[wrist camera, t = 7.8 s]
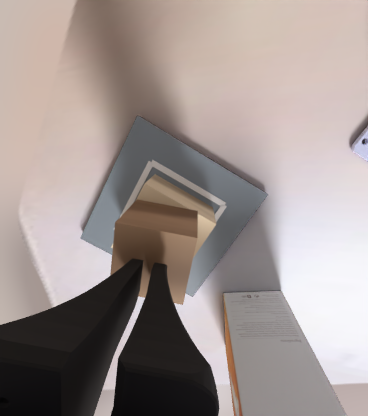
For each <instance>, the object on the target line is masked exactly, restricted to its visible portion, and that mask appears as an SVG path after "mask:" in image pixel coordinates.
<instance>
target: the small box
mask: <svg viewBox="0 0 368 416" xmlns="http://www.w3.org/2000/svg"><path fill="white" fill-rule="evenodd" d="M223 300H224V314H225V342H226V355H227V363H228V371H229V379H230V386H231V393H232V403H233V411H234V416H347V414H346V413H345V411H344V409H343V407H342V405H341V403H340V401H339V399H338V397H337V395H336V394H335V392H334V390H333V388H332V386H331V384H330V382H329V380H328V378H327V376H326V375H325V373H324V371H323V369H322V367H321V365H320V363H319V361H318V359H317V358H316V356H315V354H314V352H313V350H312V348H311V346H310V345H309V343H308V341H307V339H306V337H305V335H304V333H303V331H302V329H301V328H300V326H299V324H298V322H297V320H296V318H295V316H294V314H293V312H292V310H291V308H290V306H289V304H288V302H287V300H286V299H285V297H284V295H283V293H282V291H259V292H234V293H223Z"/></svg>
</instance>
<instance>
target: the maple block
mask: <svg viewBox="0 0 368 416" xmlns="http://www.w3.org/2000/svg"><path fill="white" fill-rule="evenodd" d="M137 199H138V200H143V201H149V202H154V203H159V204H164V205H170V206H175V207H180V208H185V209H191V210H196V211H198V238H197V243H196V247H195V252H194V256H195V255H196V253H197V252H198V250H199V249H200V247H201V246H202V244H203V243H204V242H205V240H206V239H207V237H208V236H209V234H210V233H211V231H212V230H213V228H214V227H215V226H216V220H215V215H214V210H213V207H211V206H209V205H208V204H206V203H204V202H203V201H201V200H199V199H197V198H196V197H194V196H192V195H190V194H189V193H187V192H185V191H184V190H182V189H180V188H178V187H177V186H175V185H173V184H171V183H170V182H168V181H166V180H165V179H163V178H161V177H159V176H158V175H156V174H155V175H153V176H152V177H151V178H150V179H149V180H148V181H147V182H146V183H145V184H144V186H143V188H142V189H141V191H140V193H139V195H138V197H137ZM137 199H136V200H137ZM111 248H113V244H112V246H111ZM194 256H193V258H194Z"/></svg>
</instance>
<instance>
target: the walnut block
mask: <svg viewBox="0 0 368 416" xmlns="http://www.w3.org/2000/svg"><path fill="white" fill-rule="evenodd" d="M197 238H198V211H196V210H191V209H185V208H180V207H175V206H170V205H164V204H159V203H154V202H149V201H143V200H138V199H137V200H136V201H135V202H134V203H133V204H132V205H131V206H130V207H129V208H128V209H127V210H126V211H125V213H124V214H123V215H122V216H121V217H120V218H119V219H118V220H117V221H116V222H115V229H114V241H113V252H112V264H111V275H112V274H113V273H115V272H116V271H117V270H119V269H120V268H121V267H122V266H124V265H125V264H126V263H127V262H128V261H130V260H131V259H132V258H134V259H140V260H144V261H143V269H142V277H141V285H140V292H139V295H138V296H140V297H146V294H147V289H148V284H149V280H150V275H151V270H152V267H153V265H154V263H155V262H156V263H162V264H166V265H167V266H168V267H167V277H168V283H169V288H170V292H171V296H172V299H173V302H174V303H177V304H182V305H183V302H184V297H185V293H186V288H187V284H188V279H189V275H190V270H191V266H192V261H193V256H194V252H195V247H196V243H197Z"/></svg>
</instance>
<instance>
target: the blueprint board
mask: <svg viewBox="0 0 368 416" xmlns="http://www.w3.org/2000/svg"><path fill="white" fill-rule="evenodd" d="M155 174H156V175H158V176H159V177H161V178H163V179H165V180H166V181H168V182H170V183H171V184H173V185H175V186H177V187H178V188H180V189H182V190H184V191H185V192H187V193H189V194H190V195H192V196H194V197H196V198H197V199H199V200H201V201H203V202H204V203H206V204H208V205H209V206H211V207H213V210H214V215H215V220H216V226H215V227H214V228H213V230H212V231H211V233H210V234H209V236H208V237H207V239H206V240H205V242H204V243H203V244H202V246H201V247H200V249H199V250H198V252H197V253H196V255H195V256H194V258H193V261H192V266H191V270H190V275H189V279H188V284H187V288H186V294H188V295H190V296H192V297H193V296H194V295H195V293H196V292H197V290H198V289H199V288H200V286H201V285H202V284H203V282H204V281H205V280H206V278H207V277H208V276H209V274H210V273H211V271H212V270H213V269H214V267H215V266H216V265H217V263H218V262H219V261H220V259H221V258H222V257H223V255H224V254H225V253H226V251H227V250H228V248H229V247H230V246H231V244H232V243H233V242H234V240H235V239H236V238H237V236H238V235H239V234H240V232H241V231H242V229H243V228H244V227H245V225H246V224H247V223H248V221H249V220H250V219H251V217H252V216H253V215H254V213H255V212H256V211H257V209H258V208H259V206H260V205H261V204H262V202H263V201H264V200H265V198H266V197H267V196H268V194H267V193H266V192H264V191H262V190H261V189H259V188H257V187H256V186H254V185H252V184H251V183H249V182H247V181H246V180H244V179H242V178H241V177H239V176H237V175H236V174H234V173H232V172H231V171H229V170H228V169H226V168H224V167H223V166H221V165H219V164H218V163H216V162H214V161H213V160H211V159H209V158H208V157H206V156H204V155H203V154H201V153H199V152H198V151H196V150H194V149H193V148H191V147H190V146H188V145H186V144H185V143H183V142H181V141H180V140H178V139H176V138H175V137H173V136H171V135H170V134H168V133H166V132H165V131H163V130H161V129H160V128H158V127H156V126H155V125H153V124H152V123H150V122H148V121H147V120H145V119H143V118H142V117H140V116H137V117H136V119H135V121H134V124H133V126H132V128H131V130H130V132H129V134H128V136H127V139H126V141H125V143H124V145H123V147H122V149H121V152H120V154H119V156H118V158H117V160H116V162H115V164H114V167H113V169H112V171H111V173H110V175H109V177H108V180H107V182H106V184H105V186H104V188H103V190H102V192H101V195H100V197H99V199H98V201H97V203H96V205H95V208H94V210H93V212H92V214H91V216H90V218H89V220H88V223H87V225H86V227H85V229H84V231H83V233H82V235H81V239H83V240H85V241H86V242H88V243H90V244H92V245H94V246H96V247H98V248H100V249H102V250H104V251H106V252H108V253H109V254H111V255H112V252H113V248H111V246H112V244H113V241H114V229H115V222H116V221H117V220H118V219H119V218H120V217H121V216H122V215H123V214H124V213H125V211H126V210H127V209H128V208H129V207H130V206H131V205H132V204H133V203H134V202H135V201H136V199H137V197H138V195H139V193H140V191H141V189H142V188H143V186H144V184H145V183H146V182H147V181H148V180H149V179H150V178H151V177H152V176H153V175H155Z"/></svg>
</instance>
